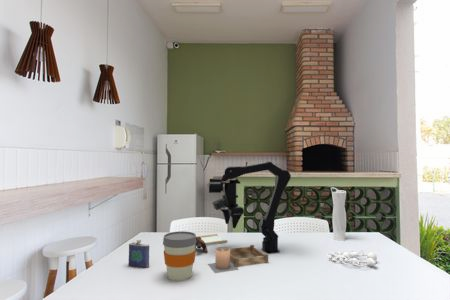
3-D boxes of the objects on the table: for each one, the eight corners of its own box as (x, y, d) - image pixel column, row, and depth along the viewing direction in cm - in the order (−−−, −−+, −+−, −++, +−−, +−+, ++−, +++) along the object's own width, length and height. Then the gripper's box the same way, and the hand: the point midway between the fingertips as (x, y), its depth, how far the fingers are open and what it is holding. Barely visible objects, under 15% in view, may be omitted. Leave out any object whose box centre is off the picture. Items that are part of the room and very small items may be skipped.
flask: (150, 266, 118) (150, 239, 119) (146, 268, 116) (146, 241, 116) (130, 264, 121) (130, 238, 121) (126, 266, 118) (126, 240, 118)
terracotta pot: (227, 263, 121) (227, 245, 121) (232, 268, 115) (232, 250, 116) (213, 265, 119) (213, 247, 119) (218, 270, 113) (218, 251, 114)
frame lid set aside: (216, 236, 163) (216, 233, 163) (227, 242, 151) (227, 240, 151) (193, 239, 157) (193, 236, 157) (202, 246, 145) (202, 243, 145)
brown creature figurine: (208, 257, 131) (200, 242, 129) (190, 265, 132) (181, 251, 130) (210, 242, 142) (202, 229, 141) (193, 250, 143) (185, 237, 142)
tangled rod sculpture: (323, 266, 122) (323, 256, 122) (330, 253, 134) (329, 245, 134) (375, 274, 112) (375, 264, 112) (377, 259, 125) (376, 250, 124)
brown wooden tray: (252, 252, 135) (252, 244, 136) (268, 263, 122) (268, 254, 122) (222, 256, 130) (222, 248, 130) (235, 267, 116) (235, 259, 116)
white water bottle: (331, 240, 155) (331, 188, 156) (330, 236, 162) (330, 186, 163) (347, 241, 153) (347, 188, 153) (346, 237, 160) (345, 187, 160)
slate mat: (229, 261, 124) (229, 261, 124) (239, 270, 114) (239, 269, 114) (207, 264, 120) (207, 264, 120) (214, 273, 111) (214, 273, 111)
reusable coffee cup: (181, 285, 100) (181, 242, 101) (155, 277, 107) (155, 236, 107) (203, 273, 111) (203, 234, 111) (178, 266, 118) (178, 229, 118)
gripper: (208, 191, 143) (208, 223, 143) (221, 196, 126) (220, 232, 125) (229, 190, 147) (229, 221, 147) (244, 195, 129) (244, 230, 129)
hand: (230, 226), depth 137 cm, fingers open, 9 cm apart
